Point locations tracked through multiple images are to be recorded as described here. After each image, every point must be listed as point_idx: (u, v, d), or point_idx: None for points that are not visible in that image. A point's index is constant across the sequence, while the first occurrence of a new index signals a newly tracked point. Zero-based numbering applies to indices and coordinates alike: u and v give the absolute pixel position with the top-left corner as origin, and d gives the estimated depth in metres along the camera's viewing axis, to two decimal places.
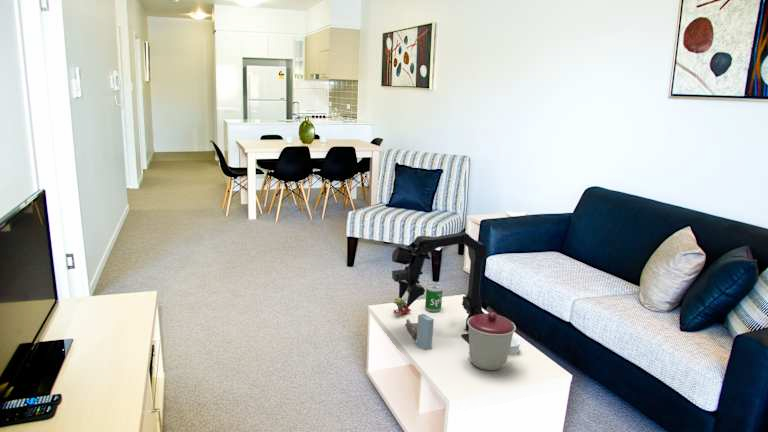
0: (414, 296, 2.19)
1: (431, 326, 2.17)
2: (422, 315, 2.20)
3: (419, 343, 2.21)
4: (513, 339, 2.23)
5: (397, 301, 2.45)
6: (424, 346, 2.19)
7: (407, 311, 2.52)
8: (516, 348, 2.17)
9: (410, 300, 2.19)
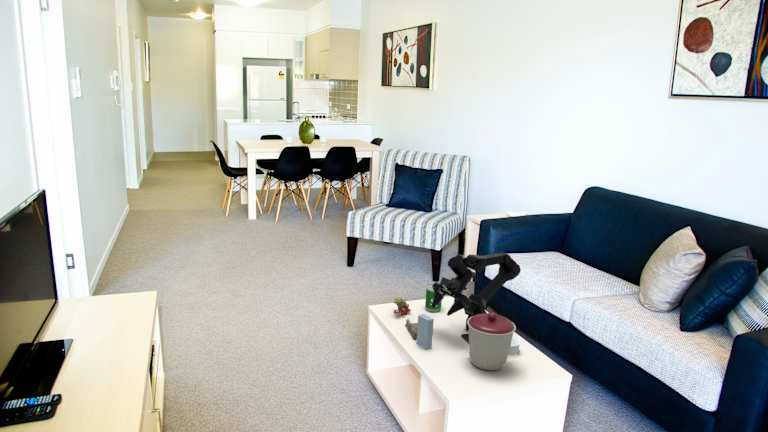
0: (457, 307, 2.20)
1: (431, 326, 2.17)
2: (422, 315, 2.20)
3: (419, 343, 2.21)
4: (513, 339, 2.23)
5: (397, 301, 2.45)
6: (424, 346, 2.19)
7: (407, 311, 2.52)
8: (516, 348, 2.17)
9: (453, 310, 2.19)
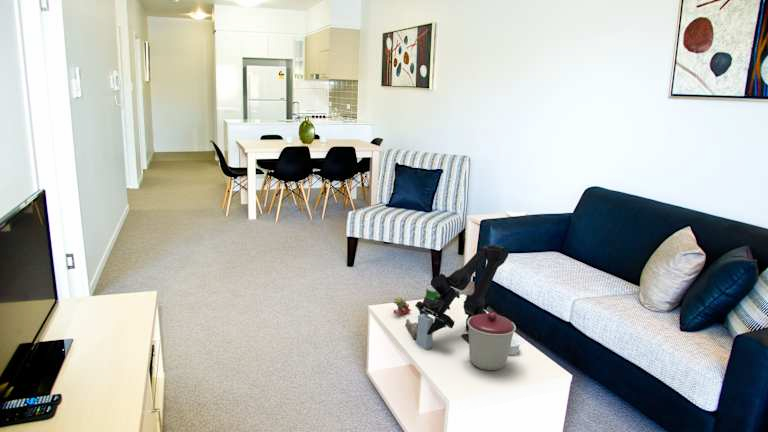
0: (438, 326, 2.18)
1: None
2: (422, 315, 2.20)
3: (419, 343, 2.21)
4: (513, 339, 2.23)
5: (397, 301, 2.45)
6: (424, 346, 2.19)
7: (407, 311, 2.52)
8: (516, 348, 2.17)
9: (433, 329, 2.17)
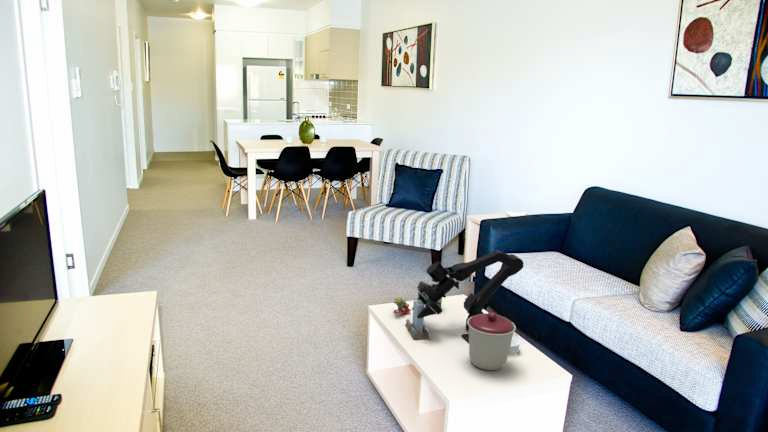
0: (428, 312, 2.26)
1: None
2: (417, 300, 2.32)
3: None
4: (513, 339, 2.23)
5: (397, 301, 2.45)
6: (415, 330, 2.31)
7: (407, 311, 2.52)
8: (516, 348, 2.17)
9: (423, 313, 2.26)
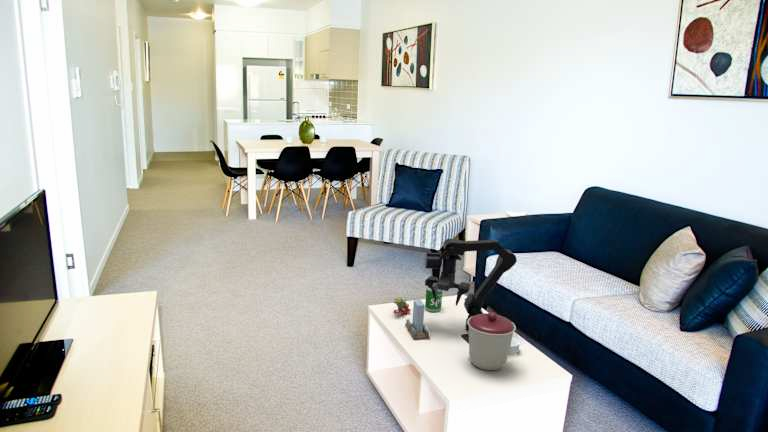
0: None
1: (421, 312, 2.28)
2: (417, 300, 2.32)
3: None
4: (513, 339, 2.23)
5: (397, 301, 2.45)
6: (415, 330, 2.31)
7: (407, 311, 2.52)
8: (516, 348, 2.17)
9: (459, 299, 2.33)
